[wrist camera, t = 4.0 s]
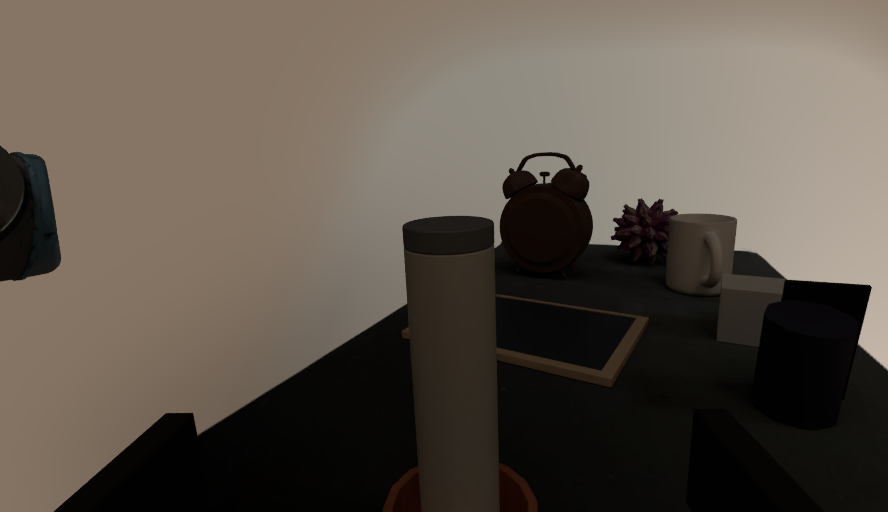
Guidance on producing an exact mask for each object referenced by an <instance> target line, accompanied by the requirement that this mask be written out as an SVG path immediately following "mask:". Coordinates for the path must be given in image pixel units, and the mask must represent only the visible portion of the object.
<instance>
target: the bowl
mask: <svg viewBox="0 0 888 512" xmlns="http://www.w3.org/2000/svg"><path fill="white" fill-rule="evenodd" d="M499 507H500V512H538V502H537V500H536V498H535V496H534V494H533V492H532V491H531V489H530V487H529V485H528V483H527V482H526V480H525V479H523V478H522V477H521V476H520V475H518V474H517V473H516V472H515V471H513V470H512V469H511V468H510V467H508V466H506V465H504V464H501V463H499ZM383 512H421V499H420V484H419V469H418V466H417V467H414V468H412V469H410V470H409V471H408V472H407V473H406V474H405V475H404V476H403V477H401V478H400V479H399V480H398V481H397V482H396V483H395V484H394V485H393V486H392V488H391V490H390V493H389V495H388V497H387V500H386V502H385V505H384V507H383Z"/></svg>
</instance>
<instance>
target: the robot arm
mask: <svg viewBox="0 0 888 512" xmlns="http://www.w3.org/2000/svg"><path fill="white" fill-rule="evenodd" d="M60 262H61V254H60V247H59V241H58V235H57V227H56V220H55V214H54V207H53V201H52V196H51V190H50V184H49V178H48V173H47V168H46V165H45V161H44V160H43V159H42V158H41V157H40V156H37V155H33V154H23V153H20V152H13V153H10V154H9V153H8V152H7V151H6V150H5V149H4V148H2V147H1V146H0V281H5V280H14V281H16V280H23V279H25V278H27V277H31V276H36V275H41V274H46V273H49V272H52V271H54V270H55V269H56V268H57V267H58V266H59V264H60ZM209 500H210V499H209V494H208V489H207V484H206V478H205V473H204V468H203V463H202V458H201V452H200V447H199V442H198V437H197V431H196V426H195V421H194V416H193V413H166V414H165V415H163V416H162V417H161V418H160V419H159V420H158V421H157V422H155V423H154V424H153V425H152V426H151V427H150V428H149V429H147V430H146V431H145V432H144V433H143V434H142V435H141V436H139V437H138V438H137V439H136V440H135V441H134V442H133V443H131V445H129V446H128V447H127V448H126V449H125V450H123V451H122V452H121V453H120V454H119V455H118V456H117V457H116V458H114V459H113V460H112V461H111V462H110V463H109V464H107V466H105V467H104V468H103V469H102V470H101V471H99V472H98V473H97V474H96V475H95V476H94V477H93V478H91V479H90V480H89V481H88V482H87V483H86V484H85V485H83V486H82V487H81V488H80V489H79V490H78V491H77V492H75V493H74V494H73V495H72V496H71V497H70V498H69V499H67V500H66V501H65V502H64V503H63V504H62V505H61V506H59V507H58V508H57V509H56V510H55V511H54V512H201V510H202V509H203V508H204V506H205V505H206V504H207V502H208V501H209ZM686 503H687V505H688V507H689V508H690V510H691V512H824V511H823V510H822V509H821V508H820V507H819V506H818V505H817V504H816V503H815V502H814V501H813V499H812V498H811V497H810V496H809V495H808V494H807V493H806V492H805V491H804V490H803V489H802V488H801V487H800V486H799V485H798V484H797V483H796V482H795V481H794V480H793V479H792V478H791V476H790V475H789V474H788V473H787V472H786V471H785V470H784V469H783V468H782V467H781V466H780V465H779V464H778V463H777V462H776V461H775V460H774V459H773V458H772V457H771V456H770V455H769V453H768V452H767V451H766V450H765V449H764V448H763V447H762V446H761V445H760V444H759V443H758V442H757V441H756V440H755V439H754V438H753V437H752V436H751V435H750V434H749V433H748V432H747V431H746V429H745V428H744V427H743V426H742V425H741V424H740V423H739V422H738V421H737V420H736V419H735V418H734V417H733V416H732V415H731V414H730V413H729V412H728V411H727V410H726V409H694V416H693V427H692V439H691V450H690V462H689V473H688V485H687V496H686Z"/></svg>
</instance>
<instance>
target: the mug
mask: <svg viewBox="0 0 888 512" xmlns="http://www.w3.org/2000/svg"><path fill="white" fill-rule="evenodd" d="M736 226H737V219H736V218H734V217H730V216H724V215H715V214H680V215H674V216H671V217H670V222H669V237H668V251H667V266H666V284H667V286H668V287H669V288H670V289H671V290H673V291H676V292H679V293H683V294H687V295H694V296H718V295H720V292H721V282H722V274H732V265H733V256H734V245H735V236H736Z"/></svg>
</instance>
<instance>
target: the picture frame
mask: <svg viewBox="0 0 888 512" xmlns="http://www.w3.org/2000/svg"><path fill="white" fill-rule="evenodd" d="M495 307H496V357H497V360H498V361H502V362H506V363H510V364H514V365H519V366H523V367H527V368H531V369H535V370H539V371H544V372H548V373H552V374H556V375H560V376H565V377H569V378H573V379H577V380H581V381H585V382H590V383H594V384H598V385H602V386H606V387H612V386H613V384H614V382H615V380H616V379H617V377H618V375H619V374H620V372H621V370H622V368H623V367H624V365H625V363H626V361H627V360H628V358H629V356H630V355H631V353H632V351H633V349H634V348H635V346H636V344H637V343H638V341H639V339H640V337H641V336H642V334H643V332H644V331H645V329H646V327H647V325H648V321H649V318H648V317H642V316H635V315H629V314H622V313H616V312H609V311H603V310H596V309H589V308H583V307H576V306H570V305H563V304H557V303H550V302H544V301H537V300H531V299H524V298H518V297H511V296H504V295H498V294H495ZM402 338H406V339H410V333H409V327H408V328H406V329H405V330H403V331H402Z"/></svg>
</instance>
